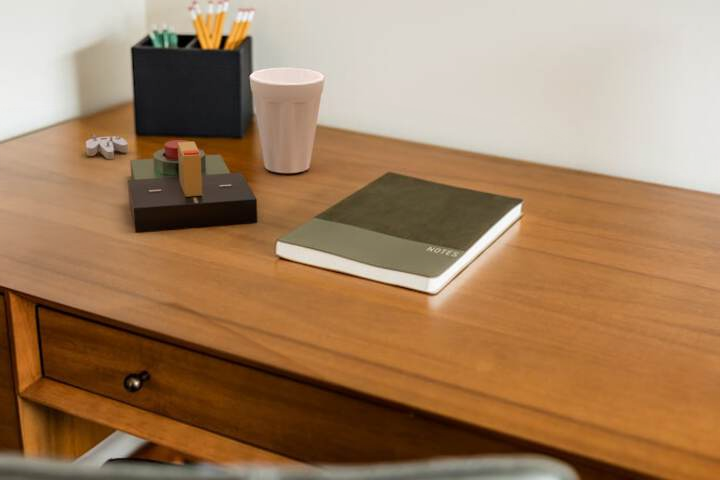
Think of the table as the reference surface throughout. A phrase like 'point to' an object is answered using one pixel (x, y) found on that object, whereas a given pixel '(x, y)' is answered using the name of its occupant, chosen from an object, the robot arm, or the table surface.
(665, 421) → the table surface
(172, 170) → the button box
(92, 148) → the game controller
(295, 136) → the cup
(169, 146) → the button
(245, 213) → the panel
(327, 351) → the table surface
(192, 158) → the tan block
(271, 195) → the table surface
